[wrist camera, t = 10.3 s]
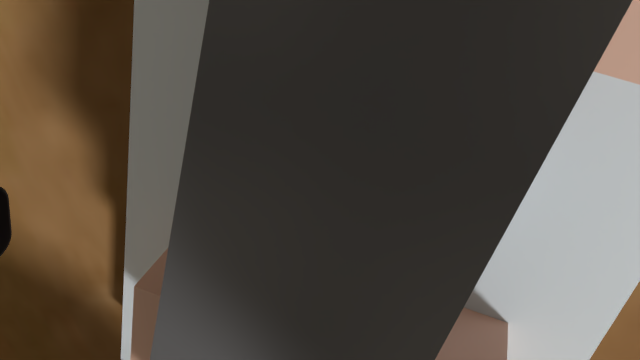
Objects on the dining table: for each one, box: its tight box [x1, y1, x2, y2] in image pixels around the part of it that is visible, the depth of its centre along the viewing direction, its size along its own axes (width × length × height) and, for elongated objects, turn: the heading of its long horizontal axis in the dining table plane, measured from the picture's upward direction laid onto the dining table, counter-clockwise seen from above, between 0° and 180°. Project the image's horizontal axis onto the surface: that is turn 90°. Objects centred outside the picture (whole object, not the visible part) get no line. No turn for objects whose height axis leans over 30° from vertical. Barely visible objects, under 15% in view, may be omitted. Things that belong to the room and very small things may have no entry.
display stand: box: [121, 0, 640, 360], centre depth 12 cm, size 20×12×4 cm, turn 168°
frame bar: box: [150, 0, 633, 360], centre depth 9 cm, size 14×3×4 cm, turn 165°
